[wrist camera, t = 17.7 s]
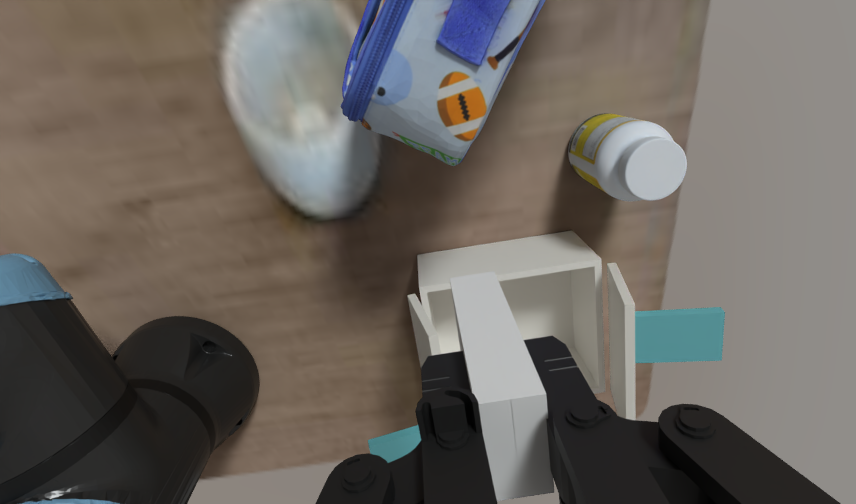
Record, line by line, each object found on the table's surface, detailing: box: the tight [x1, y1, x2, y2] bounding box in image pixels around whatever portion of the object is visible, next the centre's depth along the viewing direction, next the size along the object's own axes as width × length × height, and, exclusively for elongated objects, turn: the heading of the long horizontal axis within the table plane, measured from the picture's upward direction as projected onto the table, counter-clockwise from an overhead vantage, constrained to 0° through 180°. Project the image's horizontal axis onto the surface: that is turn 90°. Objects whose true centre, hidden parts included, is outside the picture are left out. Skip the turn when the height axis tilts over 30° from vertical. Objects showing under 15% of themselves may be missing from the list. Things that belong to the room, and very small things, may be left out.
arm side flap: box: [368, 294, 441, 463], centre depth 41 cm, size 8×13×7 cm
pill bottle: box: [568, 114, 687, 201], centre depth 42 cm, size 6×6×12 cm
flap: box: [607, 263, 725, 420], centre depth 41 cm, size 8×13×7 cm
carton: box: [417, 230, 605, 394], centre depth 50 cm, size 16×16×8 cm
